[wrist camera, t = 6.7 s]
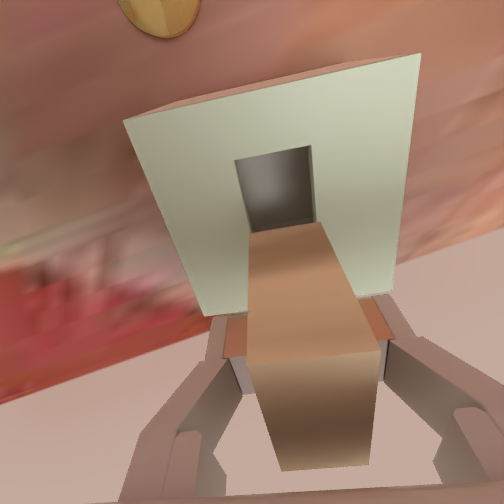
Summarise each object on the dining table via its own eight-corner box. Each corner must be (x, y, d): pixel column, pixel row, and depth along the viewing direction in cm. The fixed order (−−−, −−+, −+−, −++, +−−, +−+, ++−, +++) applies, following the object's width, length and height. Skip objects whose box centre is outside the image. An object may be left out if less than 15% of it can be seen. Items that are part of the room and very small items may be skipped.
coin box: (177, 100, 20) (122, 120, 11) (345, 62, 18) (421, 52, 10) (219, 239, 26) (204, 316, 18) (345, 218, 25) (391, 291, 17)
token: (249, 233, 9) (246, 365, 5) (320, 221, 9) (381, 349, 5) (270, 331, 12) (281, 471, 8) (326, 324, 12) (368, 464, 7)
